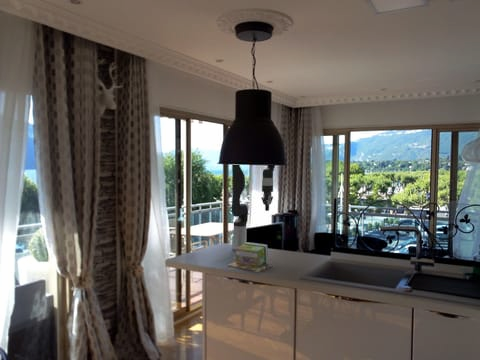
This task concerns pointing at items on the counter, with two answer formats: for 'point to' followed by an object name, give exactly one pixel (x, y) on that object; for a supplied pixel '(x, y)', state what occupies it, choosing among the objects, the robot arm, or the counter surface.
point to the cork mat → (247, 266)
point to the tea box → (251, 254)
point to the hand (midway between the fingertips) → (267, 210)
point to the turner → (262, 268)
